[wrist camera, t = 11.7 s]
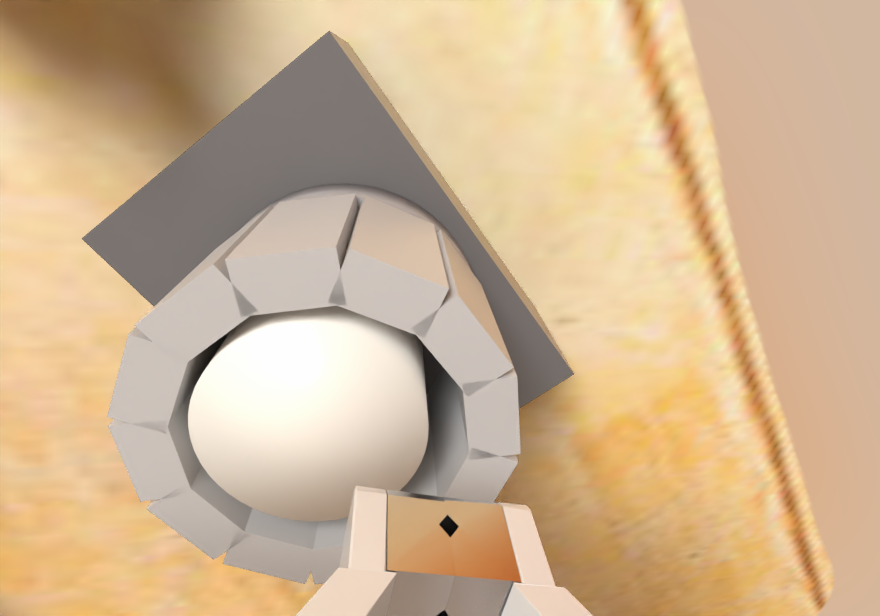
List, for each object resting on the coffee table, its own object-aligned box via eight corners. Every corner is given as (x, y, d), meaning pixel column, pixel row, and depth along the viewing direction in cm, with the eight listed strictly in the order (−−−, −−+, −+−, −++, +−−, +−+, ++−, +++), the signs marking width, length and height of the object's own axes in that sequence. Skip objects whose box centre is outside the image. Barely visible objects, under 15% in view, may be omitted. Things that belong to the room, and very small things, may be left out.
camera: (536, 309, 25) (657, 515, 13) (371, 417, 27) (350, 684, 15) (348, 42, 20) (275, -5, 8) (160, 198, 22) (-119, 340, 10)
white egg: (451, 353, 17) (470, 457, 12) (318, 428, 18) (288, 552, 13) (358, 216, 15) (339, 280, 10) (212, 308, 16) (134, 405, 11)
